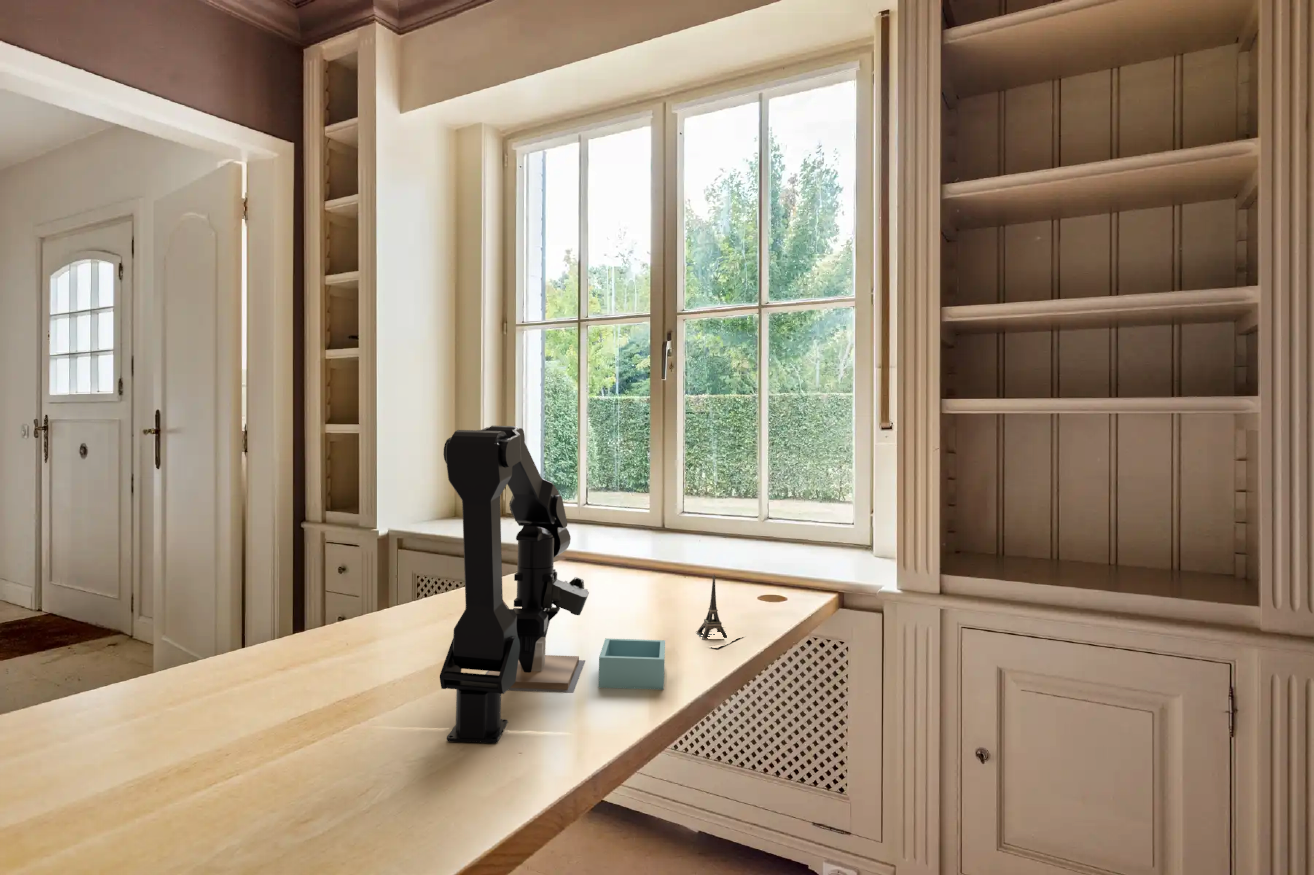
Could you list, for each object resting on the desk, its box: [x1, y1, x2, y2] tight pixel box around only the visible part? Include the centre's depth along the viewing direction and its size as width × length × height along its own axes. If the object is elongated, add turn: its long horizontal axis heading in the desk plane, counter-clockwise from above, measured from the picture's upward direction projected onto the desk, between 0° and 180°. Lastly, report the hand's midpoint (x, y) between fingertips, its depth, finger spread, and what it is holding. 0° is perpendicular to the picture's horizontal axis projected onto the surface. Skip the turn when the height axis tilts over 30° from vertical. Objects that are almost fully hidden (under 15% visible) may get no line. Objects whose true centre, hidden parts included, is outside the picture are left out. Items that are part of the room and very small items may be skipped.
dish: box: [597, 638, 666, 691], centre depth 118 cm, size 10×10×5 cm
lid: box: [487, 636, 580, 690], centre depth 118 cm, size 13×13×6 cm
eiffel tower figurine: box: [696, 574, 727, 641], centre depth 143 cm, size 15×10×13 cm
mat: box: [485, 659, 586, 694], centre depth 118 cm, size 15×15×1 cm
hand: (533, 662), depth 118 cm, fingers open, 9 cm apart
